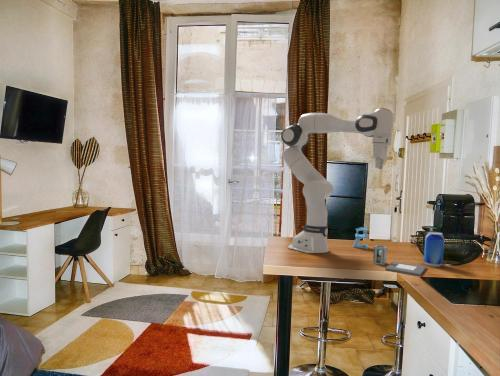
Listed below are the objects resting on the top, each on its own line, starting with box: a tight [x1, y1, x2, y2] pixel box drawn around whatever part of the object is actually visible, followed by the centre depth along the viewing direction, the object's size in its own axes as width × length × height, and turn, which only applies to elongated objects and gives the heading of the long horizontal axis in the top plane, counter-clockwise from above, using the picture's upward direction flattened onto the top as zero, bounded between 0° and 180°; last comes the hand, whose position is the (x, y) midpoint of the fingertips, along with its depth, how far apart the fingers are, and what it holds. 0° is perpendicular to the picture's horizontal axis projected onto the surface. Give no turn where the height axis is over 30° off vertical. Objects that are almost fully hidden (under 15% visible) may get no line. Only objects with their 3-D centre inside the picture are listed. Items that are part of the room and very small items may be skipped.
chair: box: [352, 226, 369, 250], centre depth 228 cm, size 8×8×12 cm
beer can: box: [423, 231, 445, 268], centre depth 193 cm, size 8×8×16 cm
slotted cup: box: [372, 244, 388, 266], centre depth 193 cm, size 5×5×8 cm
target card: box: [385, 260, 427, 277], centre depth 183 cm, size 15×16×1 cm
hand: (378, 168), depth 196 cm, fingers open, 8 cm apart
